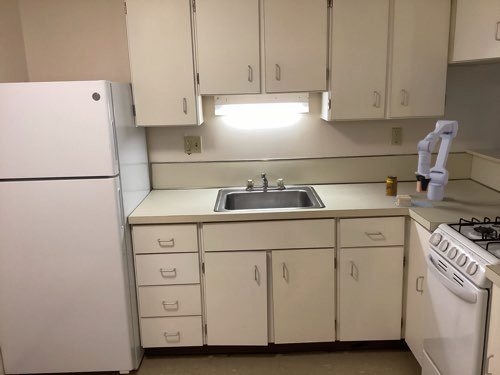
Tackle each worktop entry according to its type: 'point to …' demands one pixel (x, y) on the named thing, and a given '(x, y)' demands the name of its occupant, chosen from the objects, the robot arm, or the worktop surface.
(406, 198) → the block
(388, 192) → the condiment
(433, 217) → the worktop surface
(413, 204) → the board
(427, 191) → the terracotta block
